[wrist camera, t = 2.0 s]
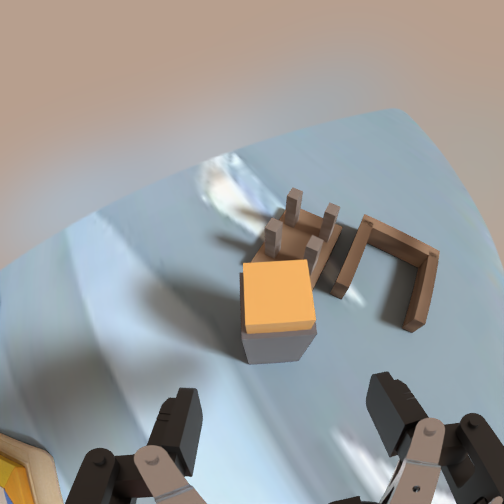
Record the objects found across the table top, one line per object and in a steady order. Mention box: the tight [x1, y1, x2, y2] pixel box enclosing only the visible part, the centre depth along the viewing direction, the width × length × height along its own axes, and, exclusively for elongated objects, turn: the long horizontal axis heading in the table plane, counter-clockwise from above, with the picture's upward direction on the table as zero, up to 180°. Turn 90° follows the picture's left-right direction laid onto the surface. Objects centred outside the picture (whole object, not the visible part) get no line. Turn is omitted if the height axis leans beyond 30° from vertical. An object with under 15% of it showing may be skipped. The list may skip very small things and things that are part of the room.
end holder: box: [330, 214, 440, 333], centre depth 24 cm, size 9×8×2 cm
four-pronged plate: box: [250, 188, 343, 291], centre depth 25 cm, size 6×8×5 cm
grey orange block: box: [240, 259, 317, 364], centre depth 18 cm, size 4×4×10 cm
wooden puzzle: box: [0, 433, 64, 504], centre depth 10 cm, size 18×19×4 cm
